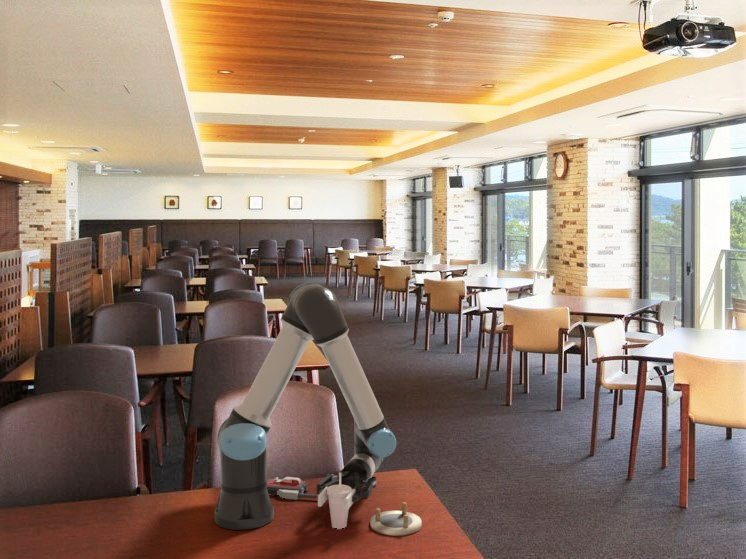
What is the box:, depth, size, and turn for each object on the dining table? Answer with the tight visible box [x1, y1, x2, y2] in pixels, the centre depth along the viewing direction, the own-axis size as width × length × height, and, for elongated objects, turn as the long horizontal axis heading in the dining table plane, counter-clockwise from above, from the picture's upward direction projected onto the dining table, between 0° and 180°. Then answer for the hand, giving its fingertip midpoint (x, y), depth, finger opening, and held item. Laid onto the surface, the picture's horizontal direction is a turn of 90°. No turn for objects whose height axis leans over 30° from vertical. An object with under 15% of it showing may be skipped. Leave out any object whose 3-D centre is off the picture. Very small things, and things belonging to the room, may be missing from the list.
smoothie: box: [327, 471, 352, 530], centre depth 179 cm, size 6×6×14 cm
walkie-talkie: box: [267, 476, 319, 501], centre depth 202 cm, size 9×4×20 cm
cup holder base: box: [369, 502, 423, 537], centre depth 181 cm, size 13×13×4 cm
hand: (333, 502), depth 175 cm, fingers closed on smoothie, 6 cm apart
